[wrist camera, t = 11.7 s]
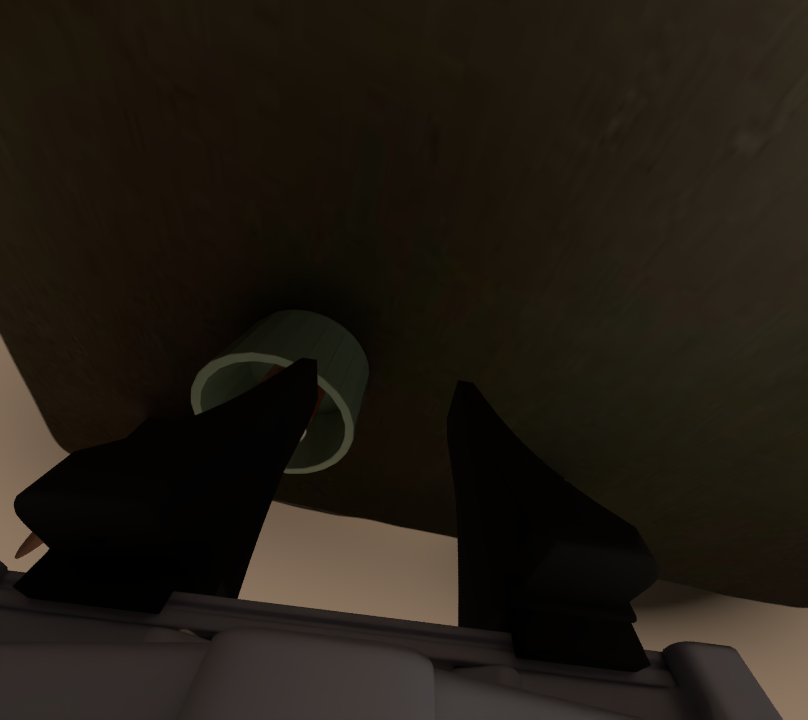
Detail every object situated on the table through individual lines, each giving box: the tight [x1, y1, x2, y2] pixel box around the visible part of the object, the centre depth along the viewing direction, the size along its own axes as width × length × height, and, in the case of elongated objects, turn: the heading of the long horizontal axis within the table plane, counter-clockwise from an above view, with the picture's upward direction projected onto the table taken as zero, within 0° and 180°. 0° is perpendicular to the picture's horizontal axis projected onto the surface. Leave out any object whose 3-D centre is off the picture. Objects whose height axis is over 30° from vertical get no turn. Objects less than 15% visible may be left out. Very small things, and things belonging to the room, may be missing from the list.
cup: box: [191, 310, 369, 474], centre depth 21 cm, size 10×10×6 cm
